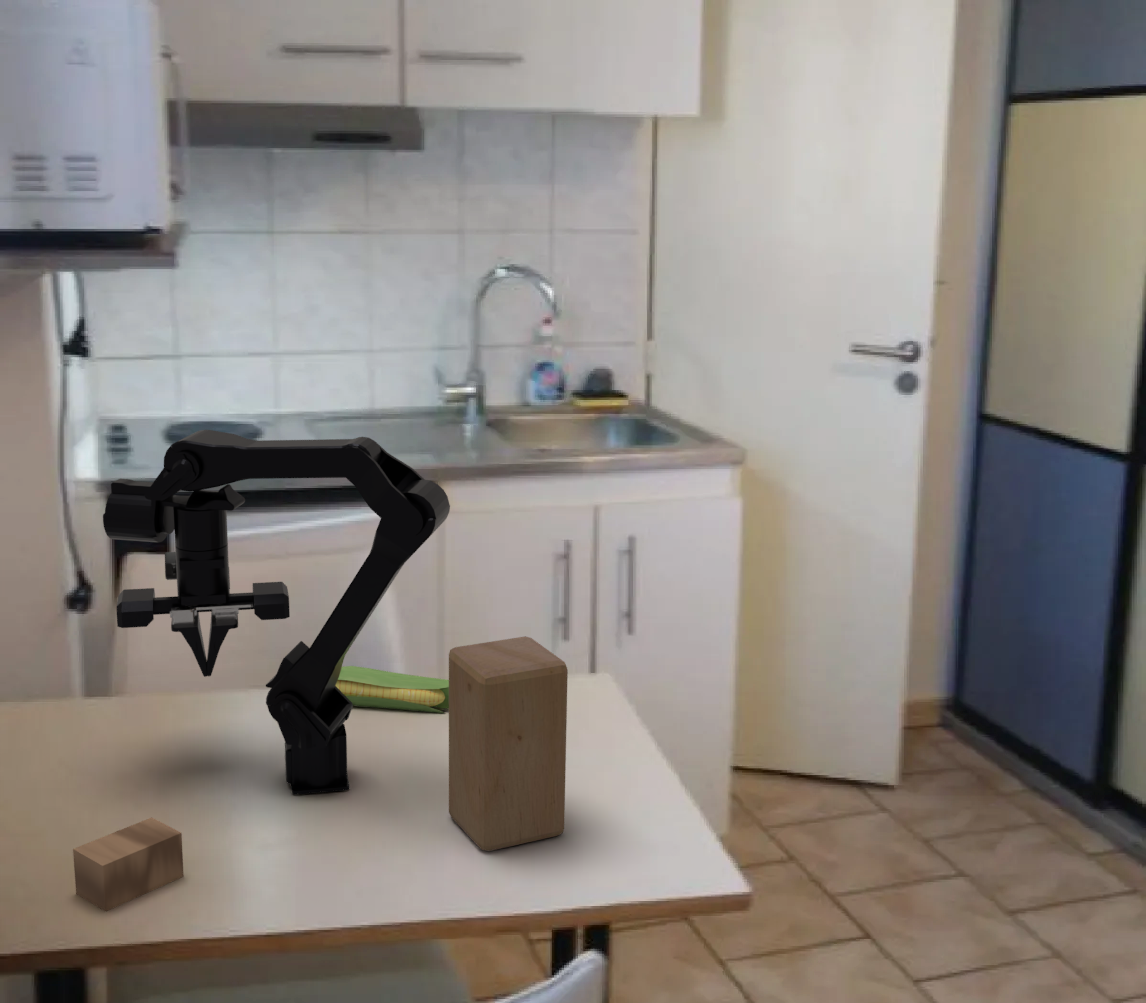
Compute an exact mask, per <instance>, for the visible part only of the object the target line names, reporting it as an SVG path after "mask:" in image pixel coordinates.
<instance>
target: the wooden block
mask: <svg viewBox="0 0 1146 1003" xmlns="http://www.w3.org/2000/svg"><path fill="white" fill-rule="evenodd" d="M568 674H569V673H568V667H567V665H566V662H565V661H564V660H562V659H561V658H560V657H558V656H557V655H556V654H554V653H553V652H551V651H550V650H549V649H547V648H546V647H544V646H543V645H541V643H540V642H537V641H536V640H535V639H533V638H532V637H529V636H519V637H513V638H506V639H499V640H494V641H487V642H480V643H474V644H468V645H460V646H456V647H453V648H451V649H449V652H448V680H449V709H448V814H449V816H450V818H451V819H452V820H453V821H454V822H455V823H456V824H457V825H458V826H459V827H460V829H462V830H463V831H464V833H466V835H467V836H468V837H469V838H470V840H472V841H473V842H474V843H475V844H476V846H478V848H479V849H480V850H482V851H487V852H491V851H496V850H501V849H504V848H508V847H513V846H518V845H522V844H527V843H531V842H535V841H540V840H544V839H550V838H553V837H557V836H560V835H561V834H563V832H564V829H565V814H566V811H565V809H566V807H565V806H566V770H567V769H566V768H567V767H566V764H567V763H566V761H567V757H566V756H567V718H568V717H567V716H568V713H567V712H568V678H569V677H568Z"/></svg>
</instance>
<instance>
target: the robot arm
mask: <svg viewBox="0 0 1146 1003" xmlns="http://www.w3.org/2000/svg"><path fill="white" fill-rule="evenodd" d="M327 478H328V479H342V478H343V479H344V478H345V479H347V481H349V482H350V483H351V484H352V485H353V486H354V487H355V488H356V490H357V492H358V493H359V495H360V496H361V498H362V499H363V501H364V502H365V503H366V505H367V506H368V507H369V509H370V510H372V511H373V513H375V514H376V515H377V516H378V517H379V518H380V520H379V523H378V525H377V527H376V530H375V533H374V537H373V541H372V545H371V549H370V552H369V554H368V556H367V557H366V559H365V560H364V562H363V563H362V565H361V567H360V568H359V569H358V571H357V573H356V574H355V576H354V577H353V579H352V581H350V583H349V585H348V586H347V589H346V590H345V592H344V593H343V595H342V597H341V598H340V599H339V601H338V603H337V604H336V606H335V608H333V610H332V612H331V614H330V615H329V617H328V618H327V620H326V622H325V623H324V624H323V626H322V628H321V630H320V631H319V633H318V634H317V636H316V637H315V638H314V640H313V642H312V644H311V645H310V647H309V646H308V645H307V644H306V643H304V641H302V640H300V641H299V642H298V643H297V644H296V645H295V646H294V647H293V648H292V649H291V650H290V651H289V652H288V653H287V654H286V655H285V656H284V657H283V658H282V660H281V662H280V664H279V667H278V669H277V672H276V674H275V675H274V676H273V677H272V678H271V679H270V680H269V681H268V682H267V683H265V687H266V688H270V690H268V693H267V695H266V698H265V705H266V706H267V710H268V713H269V714H270V716H271V717H272V719H273V720H274V721H275V722H277V725H278V728H279V729H280V732H281V734H282V738H283V739H284V763H285V764H284V765H285V766H284V768H285V770H284V771H285V779H286V781H285V782H286V783H287V784H288V785H289V784H290V790H291V794H292V795H304V794H314V793H315V794H316V793H327V792H341V791H348V790H349V789H350V788H351V786H350V779H349V776H348V750H347V749H348V748H347V747H348V744H347V738H348V737H347V730H346V727H345V722H346V721H347V720H348V719H349V717H350V714H351V712H352V709H353V707H354V706H353V703H352V702H351V701H350V700H349V699H348V698H347V697H346V696H345V695H344V694H343V693H342V692H341V691H340V690H339V689H338V688H337V687H336V686H335V685H336V683H337V680H338V678H339V675H340V672H341V668H342V667H343V663H344V660H345V656H346V655H347V653H348V651H349V650H350V648H351V647H352V645H353V644H354V642H355V641H356V639H357V638H358V636H359V634H360V633H361V631H362V630H363V628H364V626H365V625H366V624H367V622H368V620H369V619H370V617H371V616H372V615H373V613H374V611H375V610H376V608H377V607H378V605H379V603H380V602H381V601H382V599H383V598H384V596H385V594H386V592H387V591H388V590H389V588H390V586H391V585H392V584H393V582H394V580H395V579H396V577H397V576H398V574H399V572H400V571H401V569H402V568H403V566H404V565H405V563H406V562H407V561H408V560H409V559H410V558H411V557H413V555H414V554H415V553H416V552H417V551H418V550H419V548H421V546H422V545H423V544H424V543H426V541H427V540H428V539H429V538H430V537H431V536H432V535H433V534H434V533H435V532H436V530H438V529H439V527H440V526H442V524H443V523H444V522H445V521H446V519H447V518H448V516H449V513H450V509H451V504H450V501H449V498H448V495H447V494H446V491H445V489H443V488H442V487H441V485H439V484H438V483H436V482H435V481H432V480H428V479H425V478H424V477H422V475H420V474H419V472H417V470H415V469H414V468H412V467H411V466H410V465H408V464H407V463H405V462H404V461H402V460H400V459H398V458H397V457H395V456H394V455H392V454H391V453H389V452H387V450H385V448H383V447H382V446H381V445H380V443H378V442H376V441H375V440H374V439H372V438H370V437H367V436H359V437H354V438H339V439H338V438H336V439H331V438H330V439H329V438H328V439H278V440H276V439H275V440H273V439H272V440H270V439H269V440H268V439H266V440H257V439H251V438H246V437H243V436H241V435H238V434H235V433H231V432H225V431H224V432H223V431H219V430H213V429H202V430H197V431H195V432H193V433H191V434H189V435H187V436H185V437H183V438H182V439H180V440H177V441H175V442H173V443H172V444H171V445H170V446H169V447H168V448H167V449H166V452H165V454H164V457H163V468H162V470H161V471H160V473H159V474H158V476H157V477H156V478H155V479H154V481H153V482H152V481H151V482H150V481H136V480H133V479H129V478H118V479H116V480H114V481H112V482H111V484H110V492H111V493H109V496H108V498H107V501H106V504H105V507H104V508H105V509H104V513H103V514H102V524H103V529H104V532H105V534H106V536H107V537H108V538H109V539H111V540H119V541H120V540H121V541H135V542H148V543H149V542H150V543H162V542H163V541H164V540H165V539H167V537H168V535H171V534H172V533H173V532H174V547H175V549H174V550H175V551H170V552H169V551H167V552H164V575H165V576H164V577H165V579H166V580H167V581H171V580H175V581H176V586H177V587H176V589H177V590H176V591H177V596H176V595H175V596H160V597H157V596H156V593H155V588H154V587H151V588H150V587H149V588H133V589H127V588H126V589H123V590H122V591H121V592H120V593H119V594H118V595H117V603H116V624H117V625H116V626H117V627H118V628H121V629H126V628H127V629H129V628H145V627H148V626H149V625H150V624H151V623H152V622H153V621H154V619H155V618H154V615H155V616H156V615H157V616H158V615H170V616H169V617H170V618H171V624H170V630H171V632H175V633H181V635H182V636H183V638H184V640H185V641H186V642H187V644H188V647H190V649H191V651H192V654H193V655H194V658H195V659H196V662H197V664H198V666H199V669H200V671H201V674H202V676H203V677H205V678H206V677H211V676H212V674H213V670H214V668H215V665H216V661H217V658H218V656H219V653H220V650H221V648H222V645H223V643H224V641H225V638H226V637H227V634H228V633H229V631H230V630H233V629H237V628H238V627H239V612H240V611H246V610H253V612H254V616H257V618H258V619H260V620H261V621H268V620H269V621H271V620H273V621H274V620H286V619H289V618H290V595H289V590H288V586H287V585H286V584H285V583H284V582H283V581H268V582H252V592H237V593H231V592H230V590H231V581H230V580H231V579H230V567H229V540H228V537H229V536H228V519H227V518H228V517H227V511H228V512H229V511H230V512H231V511H234V510H235V509H237V508H238V507H240V506H241V505H244V503H245V502H246V499H245V497H244V496H243V495H241V494H240V493H239V492H237V491H236V490H235V489H234V488H233V487H232V485H231V484H233V483H235V482H239V481H240V482H241V481H245V480H252V479H253V480H256V479H259V480H260V479H261V480H263V479H271V480H272V479H327ZM219 487H221V488H220V489H219V490H210V489H212V488H213V489H214V488H219ZM181 491H182V492H183V491H184V492H191V493H190V494H189V495H178V494H177V493H179V492H181ZM176 494H177V495H176ZM207 612H209V613H210V614H211V615H210V623H209V636H208V646H207V648H208V649H207V654H206V650H205V648H206V647H205V644H204V637H203V632H202V627H201V620H200V619H201V618H200V613H207ZM170 618H169V619H170Z"/></svg>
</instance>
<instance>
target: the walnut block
mask: <svg viewBox="0 0 1146 1003" xmlns="http://www.w3.org/2000/svg"><path fill="white" fill-rule="evenodd" d="M182 835H183V834H182V832H181V831H179V830H177V829H175V828H173V827H171V826H169V825H167V824H166V823H163V822H162V821H160V820H158V819H156V818H153V817H149V818H146V819H144V820H141V821H139V822H137V823H134V824H131V825H129V826H126V827H124V828H122V829H119V830H116V831H114V832H112V833H110V834H109V833H108V834H107V835H104V836H102V837H99V838H97V839H94V840H92V841H89V842H87V843H84V844H82V845H79V846H77V847H75V848H73V849H72V853H73V854H72V856H73V867H74V870H73V871H74V881H75V882H74V883H75V894H76V895H77V896H79V897H80V898H82V899H85V900H86V901H88V902H89V903H90V904H92V905H94V906H96V907H97V908H99V909H101V910H103V911H104V912H107V911H110V910H112V909H114V908H117V907H119V906H121V905H123V904H126V903H128V902H130V901H132V900H134V899H136V898H138V897H141V896H143V895H145V894H147V893H150V892H152V891H154V890H156V889H159V888H161V887H163V886H165V885H168V884H170V883H172V882H175V881H176V880H179V879H181V878H183V877H184V860H183V856H184V855H183V836H182Z"/></svg>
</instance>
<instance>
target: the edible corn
mask: <svg viewBox="0 0 1146 1003" xmlns="http://www.w3.org/2000/svg"><path fill="white" fill-rule="evenodd" d="M335 686H336V687H337V688H338V689H339V690H340V691H341V692H342V693H343V694H344V695H345V696H346V697H347V698H348V699H349V700H350V701H351V702H352V703H353V707H360V708H361V707H362V708H374V709H376V708H377V709H390V710H401V711H402V710H403V711H415V712H422V713H423V712H424V713H425V712H426V713H435V714H444V715H445V714H447V713H446V712H444V711H447V710H449V679H445V678H437V677H429V676H419V675H412V674H408V673H407V674H406V673H400V672H394V671H393V672H392V671H388V670H387V671H386V670H381V669H375V668H370V667H364V666H363V667H362V666H356V665H346V666H345V665H344V666H342V668H341V672H340V675H339V678H338V680H337V683H336V685H335ZM439 708H440V709H447V710H440V709H439Z"/></svg>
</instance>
